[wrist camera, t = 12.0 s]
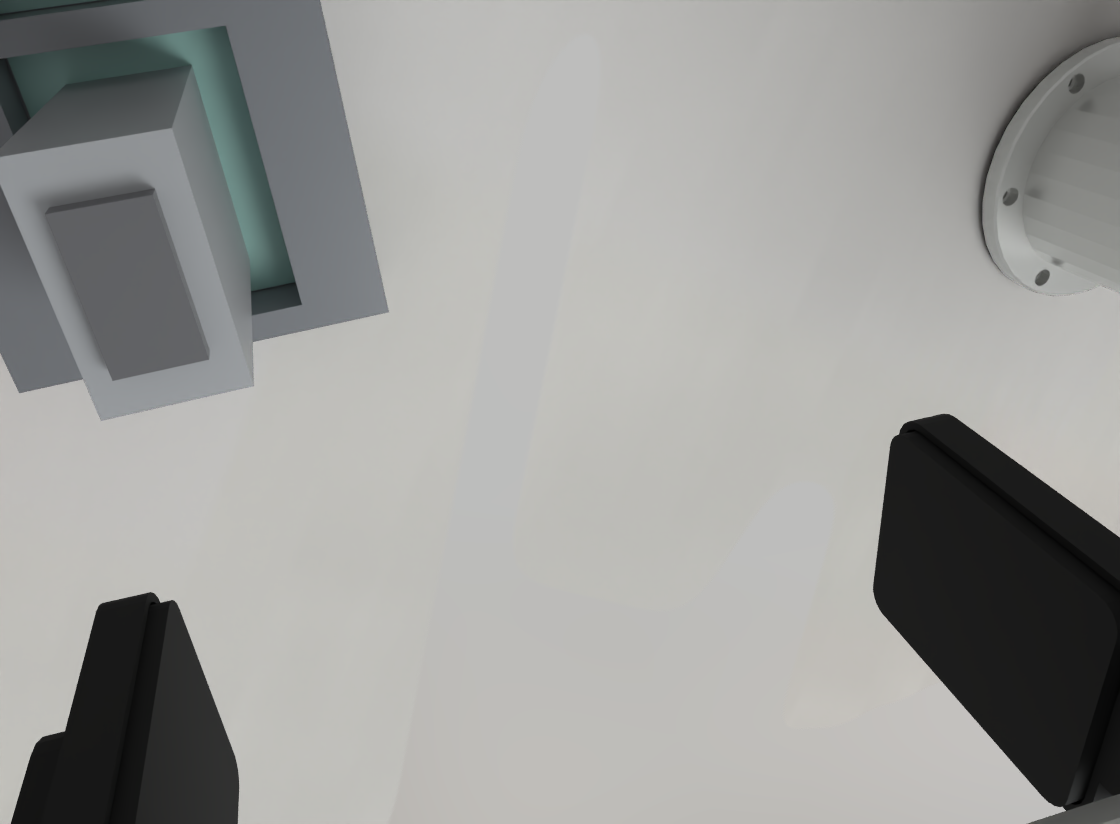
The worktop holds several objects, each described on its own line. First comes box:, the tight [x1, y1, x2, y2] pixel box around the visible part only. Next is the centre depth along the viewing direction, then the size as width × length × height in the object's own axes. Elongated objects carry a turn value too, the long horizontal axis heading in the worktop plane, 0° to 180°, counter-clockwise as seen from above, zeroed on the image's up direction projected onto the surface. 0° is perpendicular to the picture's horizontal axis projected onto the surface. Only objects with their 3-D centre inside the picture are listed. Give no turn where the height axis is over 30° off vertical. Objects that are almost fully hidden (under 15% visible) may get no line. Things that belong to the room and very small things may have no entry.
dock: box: [0, 0, 389, 421], centre depth 25 cm, size 13×22×13 cm, turn 6°
